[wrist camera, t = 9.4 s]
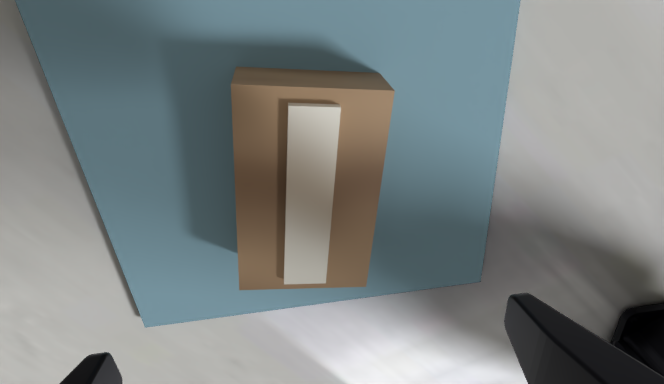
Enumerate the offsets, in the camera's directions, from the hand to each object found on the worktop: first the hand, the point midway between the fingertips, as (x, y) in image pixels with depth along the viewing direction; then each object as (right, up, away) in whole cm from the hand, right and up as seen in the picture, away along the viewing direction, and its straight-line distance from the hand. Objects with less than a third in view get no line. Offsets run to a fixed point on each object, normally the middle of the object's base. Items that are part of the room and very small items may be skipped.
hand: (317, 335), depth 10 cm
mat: (-1, +4, +8) cm, 9 cm away
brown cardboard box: (-1, +4, +7) cm, 8 cm away
